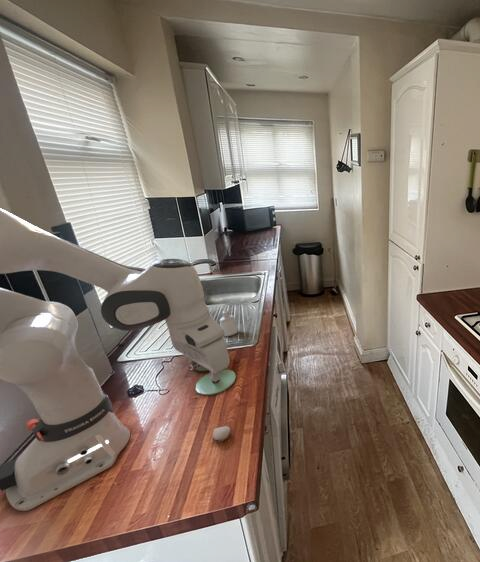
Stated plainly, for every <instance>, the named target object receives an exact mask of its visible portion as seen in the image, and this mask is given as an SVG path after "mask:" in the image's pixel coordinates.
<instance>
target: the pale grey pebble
mask: <svg viewBox="0 0 480 562" xmlns="http://www.w3.org/2000/svg"><path fill="white" fill-rule="evenodd" d="M231 432H232V430H231V428H230V427H229V426H227V425H225V426H220V427H217V428H214V429H213V434H212V438H213V440H214V442H216V443H220V442H223V441H225V440H227V439H228V438H229V437H230V435H231Z"/></svg>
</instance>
